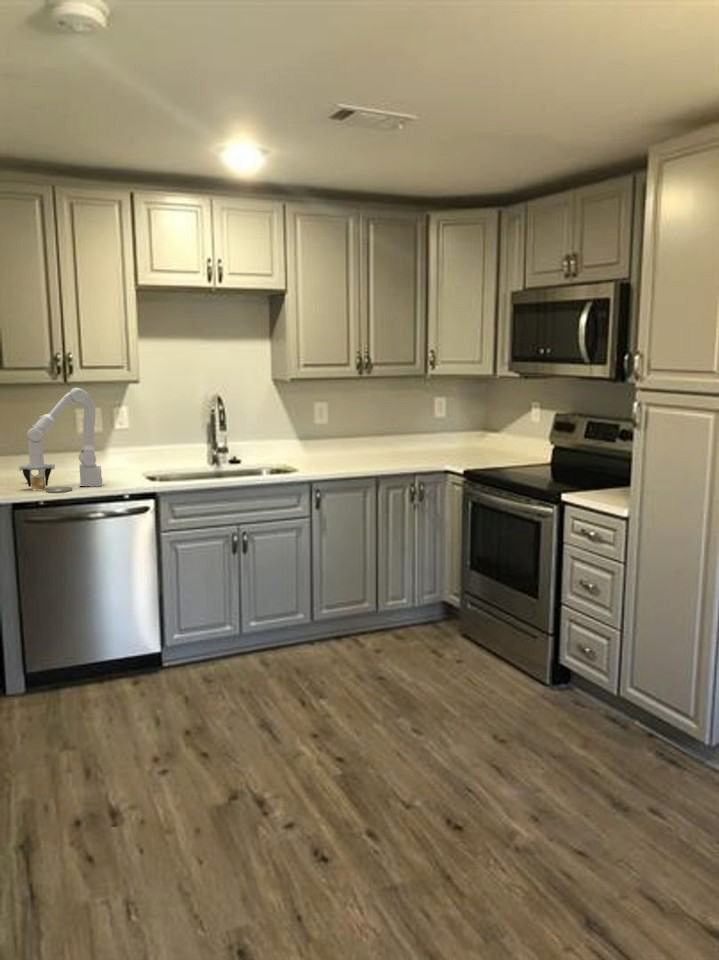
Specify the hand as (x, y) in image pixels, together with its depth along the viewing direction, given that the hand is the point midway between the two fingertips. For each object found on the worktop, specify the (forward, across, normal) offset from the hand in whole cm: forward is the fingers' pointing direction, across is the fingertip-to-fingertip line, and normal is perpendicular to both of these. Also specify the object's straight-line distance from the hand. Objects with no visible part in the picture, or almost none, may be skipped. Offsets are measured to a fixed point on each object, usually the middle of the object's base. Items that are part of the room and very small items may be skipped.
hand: (38, 486), depth 350 cm
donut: (+2, -3, +18) cm, 18 cm away
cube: (+2, 0, 0) cm, 2 cm away
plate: (+1, +9, -7) cm, 11 cm away
